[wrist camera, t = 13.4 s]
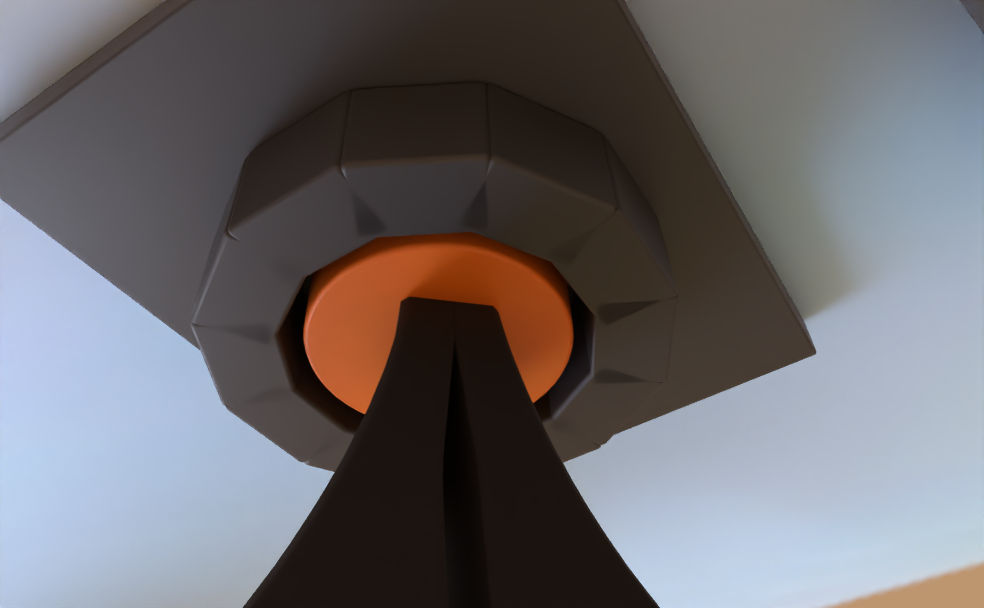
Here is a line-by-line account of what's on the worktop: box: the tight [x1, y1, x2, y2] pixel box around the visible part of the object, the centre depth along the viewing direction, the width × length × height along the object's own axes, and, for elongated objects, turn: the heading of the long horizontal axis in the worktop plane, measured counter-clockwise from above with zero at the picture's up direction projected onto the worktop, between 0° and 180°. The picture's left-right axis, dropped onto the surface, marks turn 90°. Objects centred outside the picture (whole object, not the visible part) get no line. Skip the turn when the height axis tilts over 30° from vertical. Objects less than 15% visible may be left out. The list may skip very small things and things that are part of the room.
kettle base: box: [0, 0, 816, 472], centre depth 14 cm, size 11×9×3 cm
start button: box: [303, 232, 574, 414], centre depth 14 cm, size 4×4×2 cm
